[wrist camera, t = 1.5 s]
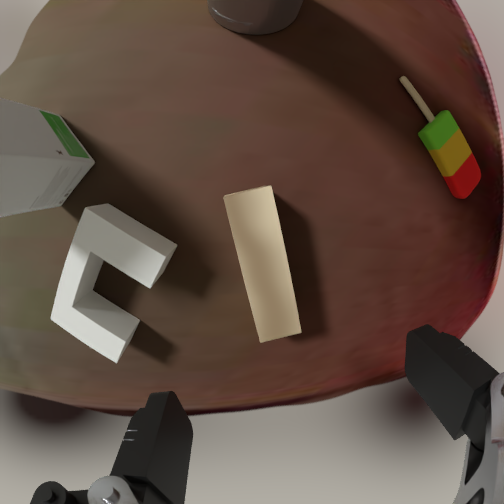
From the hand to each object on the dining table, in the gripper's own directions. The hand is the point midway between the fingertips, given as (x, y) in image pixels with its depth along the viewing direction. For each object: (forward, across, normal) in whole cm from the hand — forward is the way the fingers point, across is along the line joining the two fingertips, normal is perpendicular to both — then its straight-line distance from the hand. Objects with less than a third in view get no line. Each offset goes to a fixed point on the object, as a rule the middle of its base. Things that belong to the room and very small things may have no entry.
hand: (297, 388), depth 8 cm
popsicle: (+19, -22, -8) cm, 30 cm away
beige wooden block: (+18, 0, 0) cm, 18 cm away
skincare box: (+18, +18, -15) cm, 29 cm away
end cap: (+18, +14, -1) cm, 23 cm away
